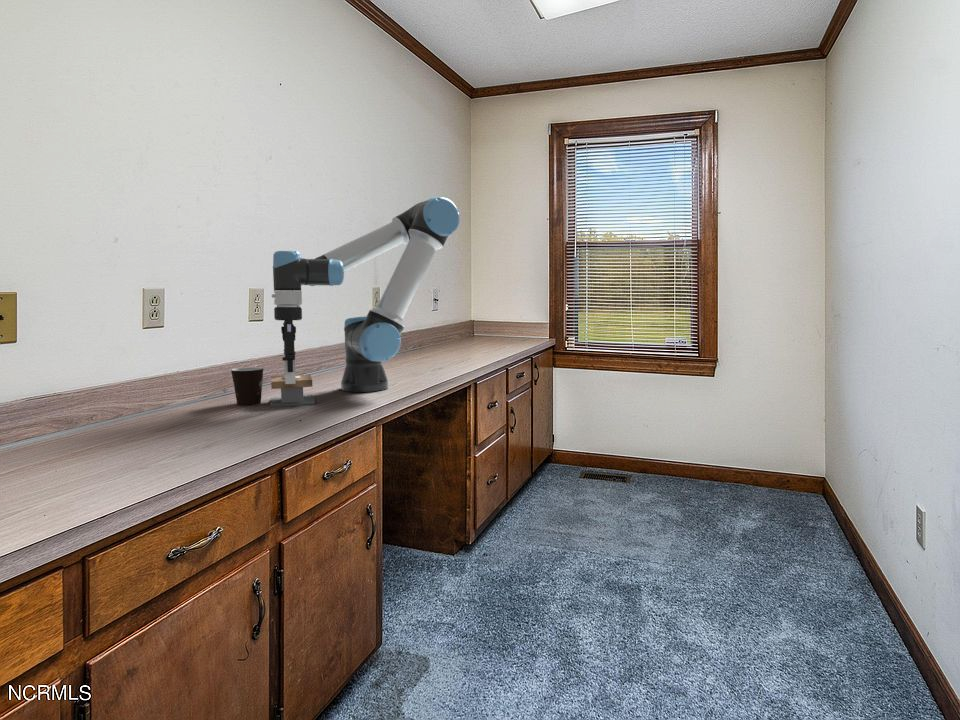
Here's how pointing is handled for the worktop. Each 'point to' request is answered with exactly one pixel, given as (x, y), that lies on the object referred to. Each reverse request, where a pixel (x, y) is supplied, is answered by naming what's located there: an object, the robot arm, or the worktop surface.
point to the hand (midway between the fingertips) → (289, 380)
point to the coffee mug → (248, 385)
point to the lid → (301, 381)
